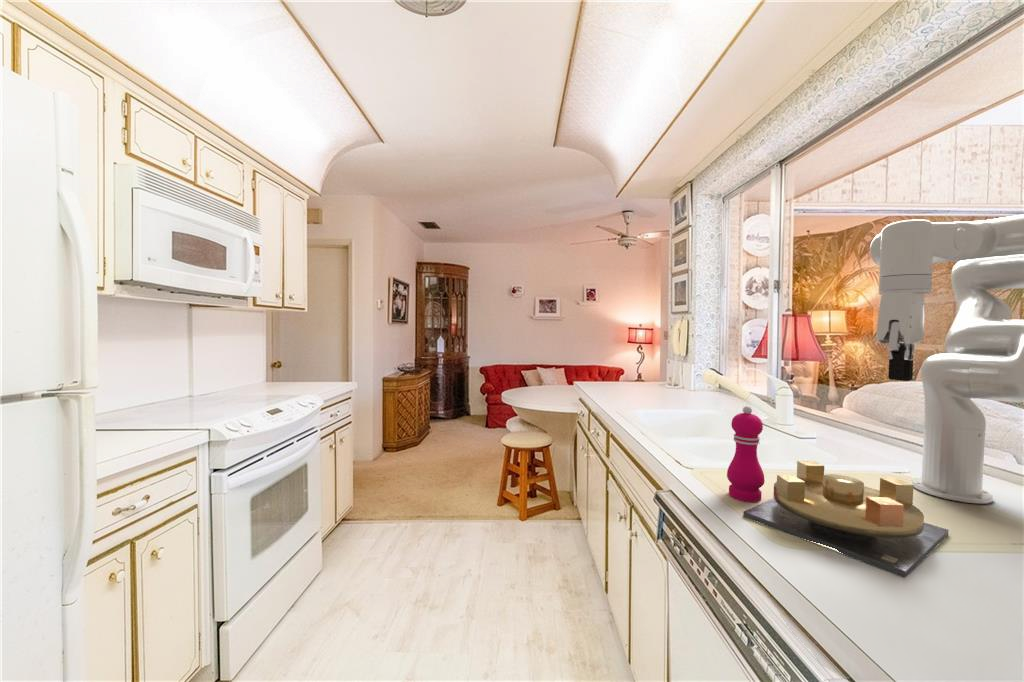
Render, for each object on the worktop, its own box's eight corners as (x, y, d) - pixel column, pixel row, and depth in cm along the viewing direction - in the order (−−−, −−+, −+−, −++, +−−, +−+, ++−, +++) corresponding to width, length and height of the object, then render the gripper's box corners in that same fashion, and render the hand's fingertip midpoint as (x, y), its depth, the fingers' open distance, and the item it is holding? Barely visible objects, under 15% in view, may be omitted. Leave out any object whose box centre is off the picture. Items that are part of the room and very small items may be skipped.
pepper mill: (769, 505, 89) (772, 410, 88) (732, 501, 90) (734, 408, 89) (756, 491, 96) (759, 403, 95) (722, 489, 97) (724, 402, 96)
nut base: (799, 490, 96) (800, 477, 96) (948, 535, 76) (949, 518, 76) (743, 516, 83) (743, 501, 83) (905, 578, 63) (905, 558, 63)
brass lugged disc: (929, 511, 79) (930, 482, 78) (915, 553, 64) (917, 517, 64) (792, 478, 95) (793, 454, 95) (756, 505, 81) (757, 477, 80)
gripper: (892, 289, 90) (888, 375, 90) (865, 285, 81) (862, 380, 82) (942, 286, 83) (937, 379, 84) (918, 282, 75) (913, 385, 76)
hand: (900, 379), depth 83 cm, fingers closed
